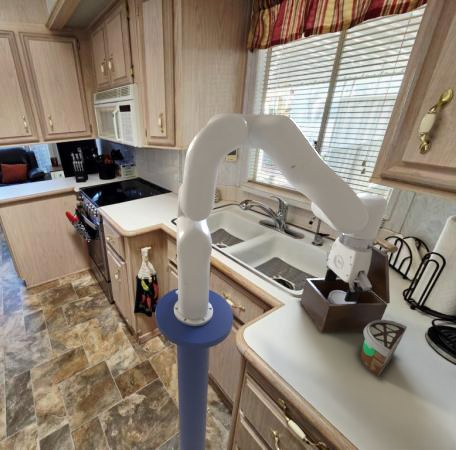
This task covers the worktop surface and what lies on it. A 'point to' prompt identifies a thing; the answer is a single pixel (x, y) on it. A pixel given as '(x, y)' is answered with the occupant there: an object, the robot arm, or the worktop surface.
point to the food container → (380, 343)
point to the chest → (340, 306)
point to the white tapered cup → (338, 297)
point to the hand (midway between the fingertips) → (339, 290)
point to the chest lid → (380, 269)
